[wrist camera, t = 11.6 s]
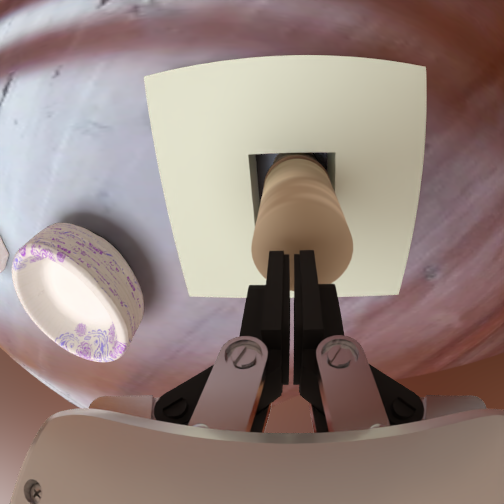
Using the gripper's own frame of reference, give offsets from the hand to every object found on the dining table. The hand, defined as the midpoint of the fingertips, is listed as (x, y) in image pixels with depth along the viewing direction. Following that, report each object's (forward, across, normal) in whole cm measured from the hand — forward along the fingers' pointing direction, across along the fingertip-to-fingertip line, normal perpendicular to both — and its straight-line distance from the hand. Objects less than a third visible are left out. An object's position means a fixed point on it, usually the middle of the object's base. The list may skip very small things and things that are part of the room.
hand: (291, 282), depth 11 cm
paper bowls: (+14, +22, +9) cm, 27 cm away
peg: (+13, 0, -1) cm, 13 cm away
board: (+13, 0, 0) cm, 13 cm away
